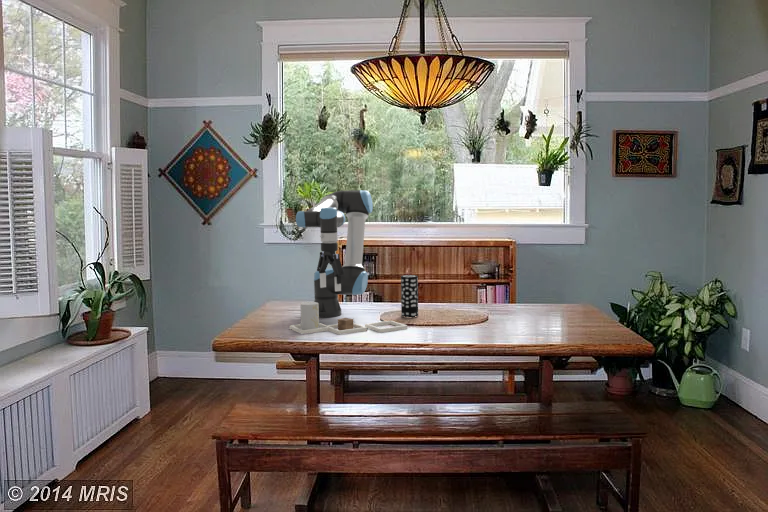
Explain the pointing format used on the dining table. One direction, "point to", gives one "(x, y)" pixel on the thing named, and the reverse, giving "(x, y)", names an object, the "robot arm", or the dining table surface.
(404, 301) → the white-spotted black cylinder
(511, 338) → the dining table surface
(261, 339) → the dining table surface
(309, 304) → the cup
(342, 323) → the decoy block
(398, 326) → the frame
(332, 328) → the frame
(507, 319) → the dining table surface
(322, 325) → the frame
